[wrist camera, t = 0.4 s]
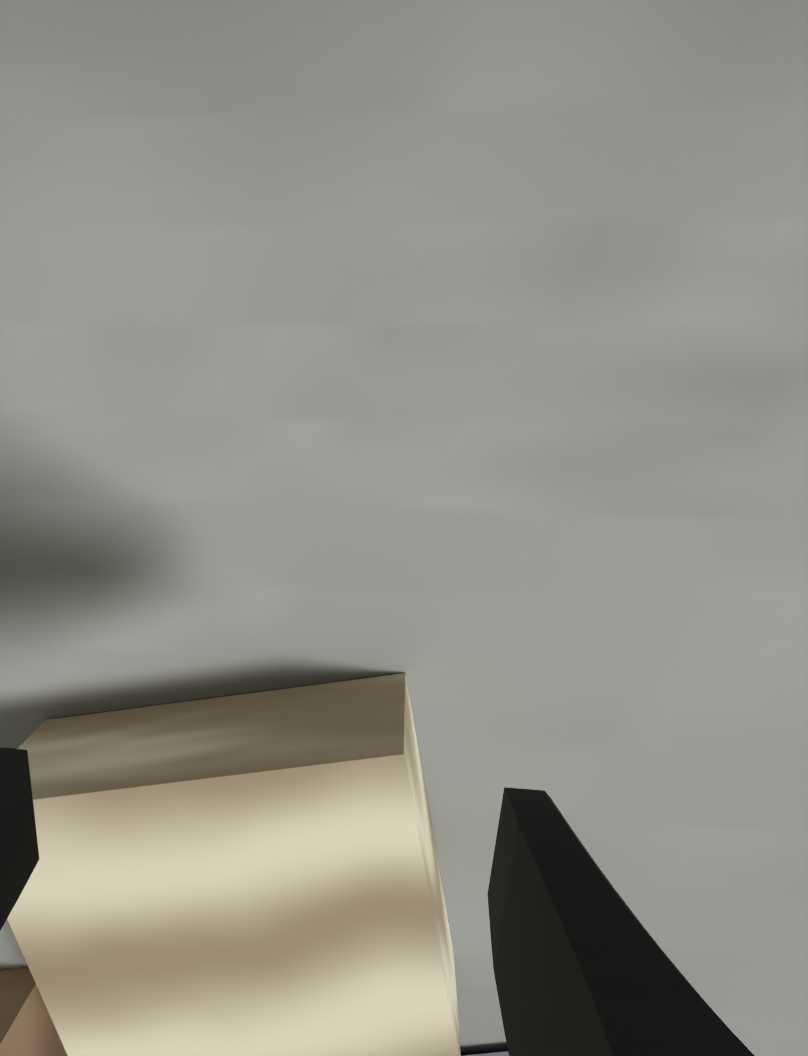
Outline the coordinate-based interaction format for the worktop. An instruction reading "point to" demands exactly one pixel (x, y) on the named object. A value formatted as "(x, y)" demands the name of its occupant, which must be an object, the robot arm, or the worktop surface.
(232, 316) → the worktop surface
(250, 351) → the worktop surface
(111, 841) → the birch pedestal
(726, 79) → the worktop surface
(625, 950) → the robot arm
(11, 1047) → the walnut cube
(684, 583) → the worktop surface
